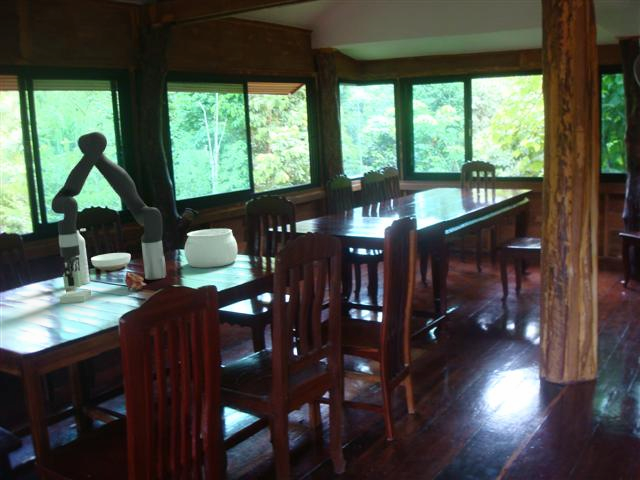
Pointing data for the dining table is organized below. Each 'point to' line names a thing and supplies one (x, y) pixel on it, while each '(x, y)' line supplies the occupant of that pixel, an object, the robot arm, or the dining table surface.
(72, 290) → the grey block
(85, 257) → the white bottle
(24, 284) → the dining table surface
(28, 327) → the dining table surface
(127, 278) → the flower
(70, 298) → the trivet
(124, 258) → the bowl
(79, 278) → the green cube
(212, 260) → the pot
